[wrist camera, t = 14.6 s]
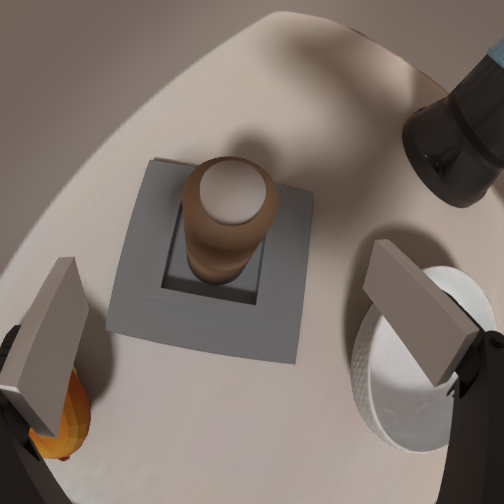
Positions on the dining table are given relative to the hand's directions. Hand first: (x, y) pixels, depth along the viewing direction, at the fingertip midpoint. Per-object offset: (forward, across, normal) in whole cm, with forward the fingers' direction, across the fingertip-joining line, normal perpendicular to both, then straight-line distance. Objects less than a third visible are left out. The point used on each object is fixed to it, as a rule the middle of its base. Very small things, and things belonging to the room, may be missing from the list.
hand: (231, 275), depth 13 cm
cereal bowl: (+5, +18, -15) cm, 24 cm away
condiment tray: (+13, 0, -7) cm, 14 cm away
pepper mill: (+12, 0, -6) cm, 13 cm away
